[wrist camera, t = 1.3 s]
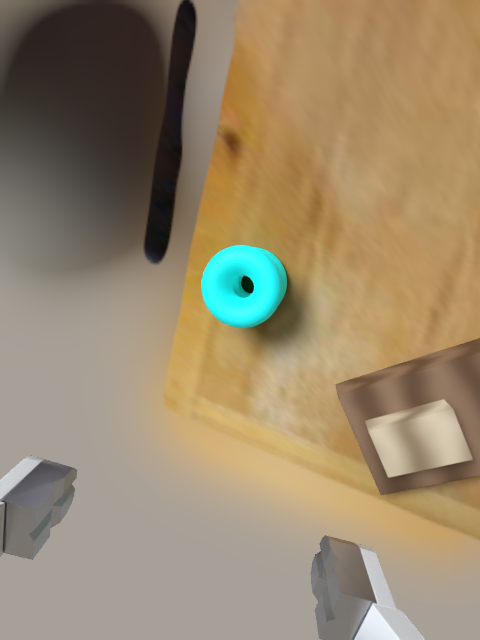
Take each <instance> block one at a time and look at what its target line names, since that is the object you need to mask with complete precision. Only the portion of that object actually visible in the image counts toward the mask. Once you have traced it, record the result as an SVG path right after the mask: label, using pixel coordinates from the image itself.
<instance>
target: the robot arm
mask: <svg viewBox="0 0 480 640" xmlns="http://www.w3.org/2000/svg"><path fill="white" fill-rule="evenodd" d="M76 475H77V470H76V469H75V468H72V467H69V466H66V465H62V464H59V463H55V462H52V461H49V460H45V459H41V458H38V457H34V456H29V457H26V458H24V459H23V460H22V461H21V462H20V463H19V464H18V465H17V466H15V467H14V468H13V469H12V470H11V471H10V472H9V473H8V474H6V475H5V476H4V477H3V478H2V479H1V480H0V556H1V555H2V554H3V553H7V554H11V555H15V556H19V557H24V558H28V559H32V560H33V558H34V557H35V556H36V554H37V553H38V552H39V550H40V549H41V548H42V546H43V545H44V543H45V542H46V541H47V539H48V538H49V536H50V528H51V527H53V526H55V525H56V524H58V523H60V522H61V520H62V519H63V518H64V516H65V515H66V513H67V511H68V509H69V507H70V505H71V504H72V501H73V497H74V492H75V488H74V487H73V485H72V483H73V482H74V480H75V479H76ZM320 548H321V551H320V552H319V553H317V554H315V557H314V559H313V563H312V569H311V584H312V592H313V593H314V595H315V597H316V598H317V600H318V604H317V607H316V608H315V613H316V619H317V627H318V634H319V638H320V639H322V640H425V639H424V637H423V636H422V635H421V634H420V633H419V631H418V630H417V629H416V628H415V626H414V625H413V624H412V623H411V621H410V620H409V619H408V618H407V617H406V615H405V614H404V613H403V612H402V611H401V610H397V609H396V606H395V603H394V601H393V598H392V595H391V592H390V590H389V587H388V584H387V582H386V579H385V576H384V574H383V571H382V569H381V565H380V563H379V560H378V557H377V555H376V552H375V551H374V549H373V548H371V547H368V546H364V545H360V544H355V543H353V542H349V541H345V540H341V539H337V538H333V537H329V536H326V535H325V536H324V537H323V538H322V540H321V542H320Z"/></svg>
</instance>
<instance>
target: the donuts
mask: <svg viewBox="0 0 480 640" xmlns="http://www.w3.org/2000/svg"><path fill="white" fill-rule="evenodd" d="M243 276H248V277H249V278H250V279H251V280H252V281H253V283H254V291H253V293H247V292H245V291H244V290H243V288H242V286H241V280H242V278H243ZM286 288H287V277H286V272H285V269H284V267H283V265H282V263H281V262H280V261H279V259H278V258H277V257H276V256H275V255H273V254H272V253H271V252H269V251H267V250H265V249H262V248H257V247H251V246H245V245H237V246H232V247H228V248H226V249H224V250H222V251H220V252H219V253H217V254H216V255H215V256H214V257H213V258H212V259H211V260H210V262H209V263H208V265H207V266H206V268H205V271H204V273H203V277H202V295H203V299H204V301H205V304H206V306H207V308H208V309H209V311H210V312H211V313H212V314H213V315H214V316H215V317H216V318H217V319H218V320H219V321H221V322H223V323H224V324H227V325H229V326H232V327H237V328H248V327H253V326H256V325H259V324H261V323H263V322H264V321H266V320H267V319H268V318H269V317H270V316H271V315H272V314H273V313H274V312H275V310H276V309H277V307H278V305H279V304H280V303H281V301H282V299H283V297H284V295H285V292H286Z"/></svg>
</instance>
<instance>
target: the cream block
mask: <svg viewBox="0 0 480 640" xmlns="http://www.w3.org/2000/svg"><path fill="white" fill-rule="evenodd" d="M365 423H366V426H367V429H368V432H369V434H370V436H371V439H372V441H373V443H374V446H375V448H376V450H377V453H378V455H379V457H380V460H381V462H382V464H383V466H384V469H385V471H386V473H387V476H388V478H389V477H394V476H399V475H403V474H408V473H413V472H417V471H422V470H427V469H431V468H436V467H441V466H445V465H450V464H455V463H459V462H464V461H469V460H473V458H472V456H471V453H470V450H469V448H468V445H467V443H466V440H465V438H464V435H463V433H462V430H461V428H460V425H459V423H458V420H457V418H456V415H455V413H454V410H453V408H452V407H451V406H450V405H449V404H448V403H447V402H446V401H445V400H444V399H443V400H439V401H436V402H432V403H428V404H425V405H421V406H418V407H414V408H410V409H407V410H403V411H399V412H396V413H392V414H388V415H385V416H381V417H377V418H374V419H370V420H367V421H365Z"/></svg>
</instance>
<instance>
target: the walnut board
mask: <svg viewBox="0 0 480 640" xmlns="http://www.w3.org/2000/svg"><path fill="white" fill-rule="evenodd" d="M336 389H337V394H338V398H339V400H340V402H341V405H342V407H343V409H344V411H345V414H346V416H347V418H348V421H349V423H350V425H351V427H352V430H353V432H354V434H355V437H356V439H357V441H358V444H359V446H360V448H361V450H362V453H363V455H364V457H365V460H366V462H367V464H368V466H369V469H370V471H371V473H372V476H373V478H374V480H375V483H376V485H377V487H378V489H379V492H380V494H381V495H385V494H390V493H395V492H400V491H405V490H410V489H415V488H420V487H425V486H430V485H435V484H440V483H445V482H450V481H455V480H460V479H465V478H471V477H476V476H480V338H479V339H476V340H473V341H470V342H467V343H464V344H460V345H457V346H454V347H451V348H448V349H445V350H442V351H438V352H435V353H432V354H429V355H426V356H423V357H420V358H417V359H413V360H410V361H407V362H404V363H401V364H398V365H395V366H391V367H388V368H385V369H382V370H379V371H376V372H373V373H370V374H366V375H363V376H360V377H357V378H354V379H351V380H348V381H345V382H341V383H338V384H336ZM443 399H444V400H445V401H446V402H447V403H448V404H449V405H450V406H451V407H452V408H453V410H454V413H455V415H456V418H457V420H458V423H459V425H460V428H461V430H462V433H463V435H464V438H465V440H466V443H467V445H468V448H469V450H470V453H471V456H472V458H473V460H469V461H464V462H459V463H455V464H450V465H445V466H441V467H436V468H431V469H427V470H422V471H417V472H413V473H408V474H403V475H399V476H394V477H389V478H388V476H387V473H386V471H385V469H384V466H383V464H382V462H381V460H380V457H379V455H378V453H377V450H376V448H375V446H374V443H373V441H372V439H371V436H370V434H369V432H368V429H367V426H366V423H365V421H367V420H370V419H374V418H377V417H381V416H385V415H388V414H392V413H396V412H399V411H403V410H407V409H410V408H414V407H418V406H421V405H425V404H428V403H432V402H436V401H439V400H443Z"/></svg>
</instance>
